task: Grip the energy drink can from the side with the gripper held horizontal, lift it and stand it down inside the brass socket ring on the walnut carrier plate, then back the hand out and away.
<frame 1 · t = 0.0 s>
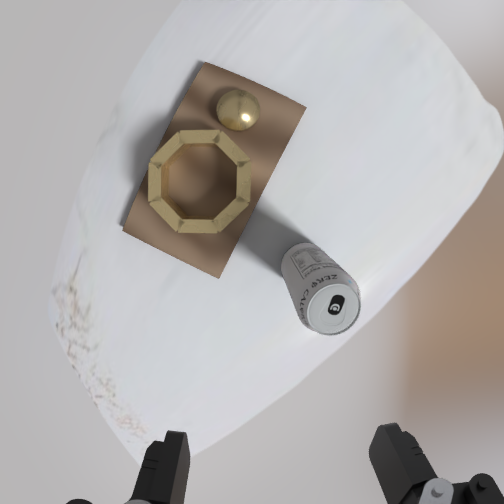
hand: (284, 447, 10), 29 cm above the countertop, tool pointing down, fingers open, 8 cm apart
walnut carrier plate: (211, 167, 36), on the countertop
energy drink can: (302, 263, 39), on the countertop
brass socket ring: (203, 181, 36), resting on walnut carrier plate
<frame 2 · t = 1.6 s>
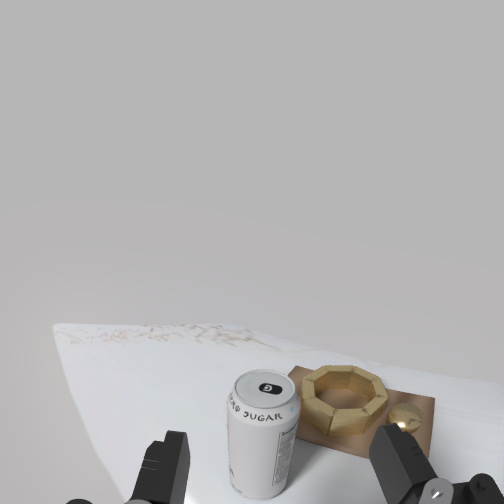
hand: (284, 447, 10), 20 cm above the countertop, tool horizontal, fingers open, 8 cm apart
walnut carrier plate: (351, 416, 36), on the countertop
energy drink can: (257, 484, 26), on the countertop
brass socket ring: (338, 413, 37), resting on walnut carrier plate
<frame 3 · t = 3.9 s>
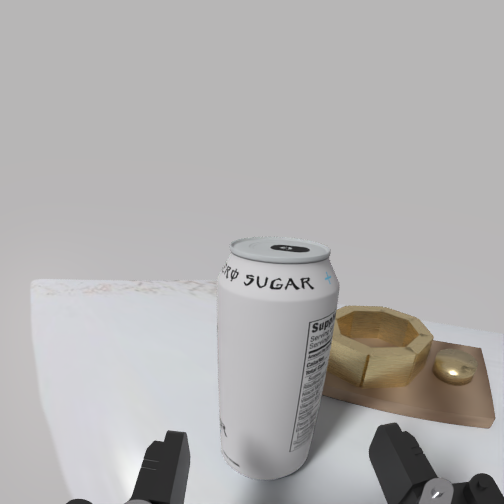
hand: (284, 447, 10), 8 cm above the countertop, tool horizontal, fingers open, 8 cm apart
walnut carrier plate: (386, 369, 28), on the countertop
energy drink can: (264, 456, 18), on the countertop
brass socket ring: (369, 365, 29), resting on walnut carrier plate
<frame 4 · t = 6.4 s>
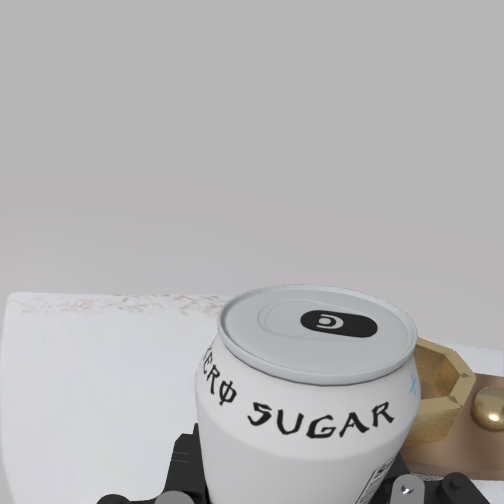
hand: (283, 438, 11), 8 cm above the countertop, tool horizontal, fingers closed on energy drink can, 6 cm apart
walnut carrier plate: (417, 414, 21), on the countertop
brass socket ring: (397, 410, 22), resting on walnut carrier plate
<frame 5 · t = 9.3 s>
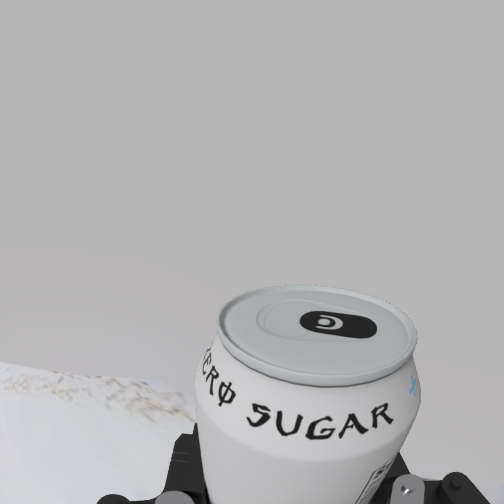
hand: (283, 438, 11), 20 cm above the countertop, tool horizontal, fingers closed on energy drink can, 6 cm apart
when the fingers open (10 cm above the countertop, at t = 12.4 s): energy drink can drops 1 cm, resting on walnut carrier plate.
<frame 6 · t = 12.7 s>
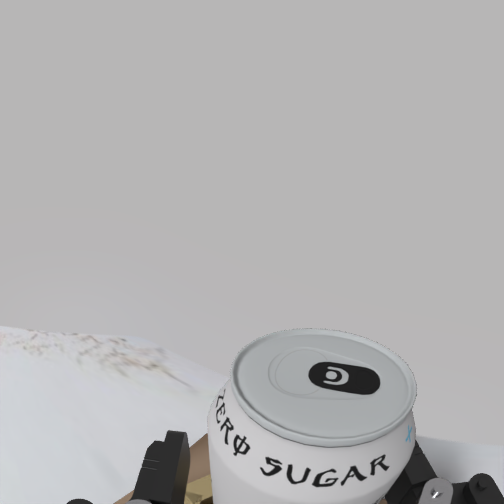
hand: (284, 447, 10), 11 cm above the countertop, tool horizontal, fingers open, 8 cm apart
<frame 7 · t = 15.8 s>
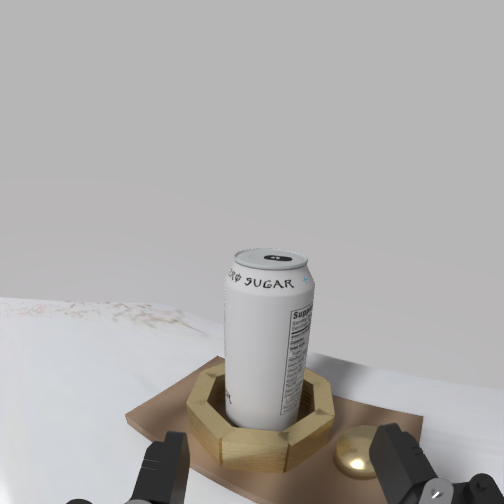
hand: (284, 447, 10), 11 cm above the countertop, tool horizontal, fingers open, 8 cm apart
walnut carrier plate: (279, 439, 23), on the countertop
energy drink can: (260, 425, 23), point 1 cm above the countertop, touching walnut carrier plate
brass socket ring: (259, 431, 24), resting on walnut carrier plate
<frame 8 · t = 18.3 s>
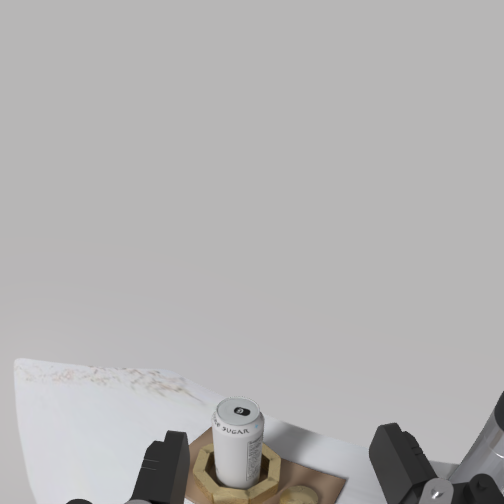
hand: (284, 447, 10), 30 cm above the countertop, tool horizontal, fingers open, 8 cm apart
walnut carrier plate: (249, 487, 33), on the countertop
energy drink can: (237, 479, 34), point 1 cm above the countertop, touching walnut carrier plate
brass socket ring: (237, 482, 34), resting on walnut carrier plate
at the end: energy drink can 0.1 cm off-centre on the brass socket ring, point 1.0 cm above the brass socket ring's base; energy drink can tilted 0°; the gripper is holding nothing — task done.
